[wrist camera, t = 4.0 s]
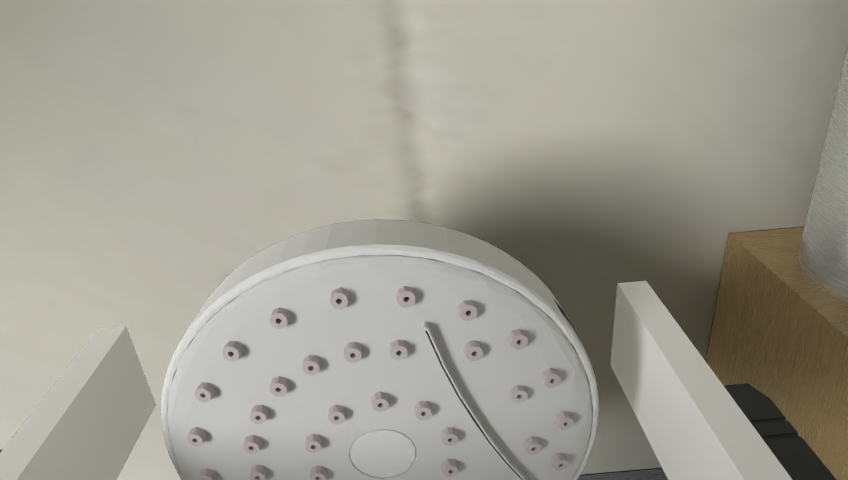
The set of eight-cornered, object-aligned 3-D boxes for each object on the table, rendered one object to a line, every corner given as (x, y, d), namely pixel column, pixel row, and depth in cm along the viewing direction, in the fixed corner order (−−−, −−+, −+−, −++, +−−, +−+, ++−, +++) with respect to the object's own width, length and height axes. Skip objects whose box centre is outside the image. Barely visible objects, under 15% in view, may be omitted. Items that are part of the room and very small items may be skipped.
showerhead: (7, 424, 11) (495, 178, 9) (153, 245, 17) (454, 80, 15) (294, 666, 15) (675, 529, 13) (326, 445, 21) (582, 333, 19)
